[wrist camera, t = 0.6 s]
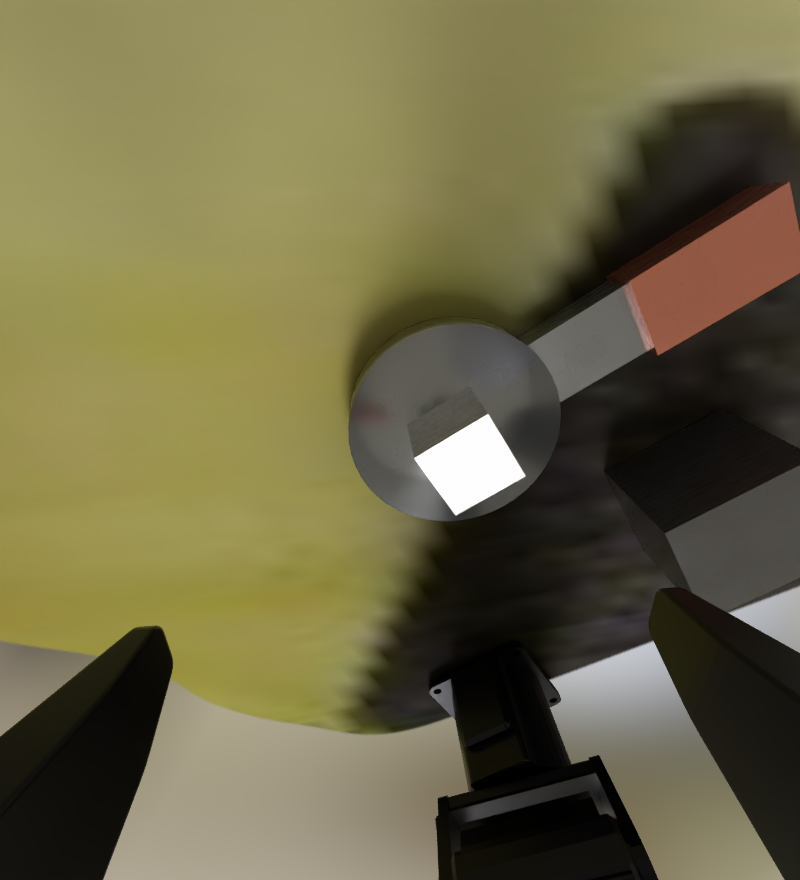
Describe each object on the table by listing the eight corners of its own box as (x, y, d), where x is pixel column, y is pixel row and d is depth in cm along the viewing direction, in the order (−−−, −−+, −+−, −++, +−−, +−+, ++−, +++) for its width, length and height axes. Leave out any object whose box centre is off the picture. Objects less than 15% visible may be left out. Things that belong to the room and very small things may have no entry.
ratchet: (731, 111, 16) (866, 68, 12) (781, 322, 20) (899, 348, 15) (308, 392, 20) (292, 439, 15) (416, 529, 23) (429, 598, 19)
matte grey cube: (749, 496, 24) (840, 558, 19) (643, 549, 25) (705, 621, 20) (720, 408, 21) (816, 457, 17) (604, 471, 22) (664, 533, 18)
